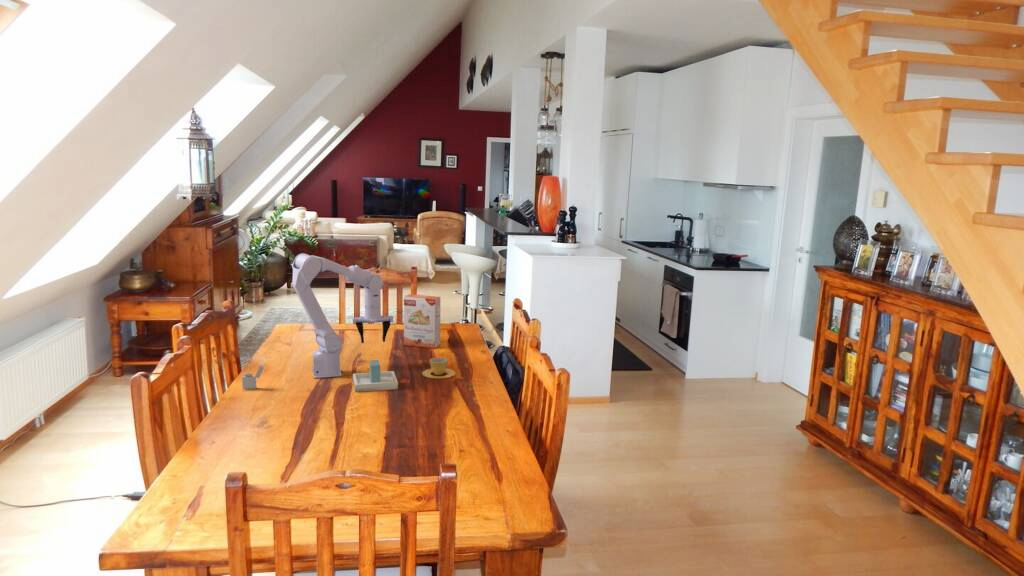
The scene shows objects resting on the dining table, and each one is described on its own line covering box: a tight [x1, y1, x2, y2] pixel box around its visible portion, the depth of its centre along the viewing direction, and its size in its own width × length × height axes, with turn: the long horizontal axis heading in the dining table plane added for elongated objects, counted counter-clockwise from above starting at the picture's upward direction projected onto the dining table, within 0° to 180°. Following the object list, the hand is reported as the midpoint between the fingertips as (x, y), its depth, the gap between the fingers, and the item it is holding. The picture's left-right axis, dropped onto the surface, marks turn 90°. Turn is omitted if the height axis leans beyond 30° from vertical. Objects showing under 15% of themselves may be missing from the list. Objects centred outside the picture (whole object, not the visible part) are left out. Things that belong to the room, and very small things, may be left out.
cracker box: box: [403, 293, 441, 350], centre depth 285 cm, size 14×6×21 cm, turn 73°
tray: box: [352, 370, 399, 393], centre depth 238 cm, size 14×12×2 cm
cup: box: [421, 356, 456, 379], centre depth 252 cm, size 12×12×5 cm
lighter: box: [241, 364, 266, 390], centre depth 231 cm, size 7×2×8 cm, turn 99°
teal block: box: [369, 359, 381, 383], centre depth 237 cm, size 6×3×7 cm, turn 17°
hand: (373, 341), depth 257 cm, fingers open, 7 cm apart
